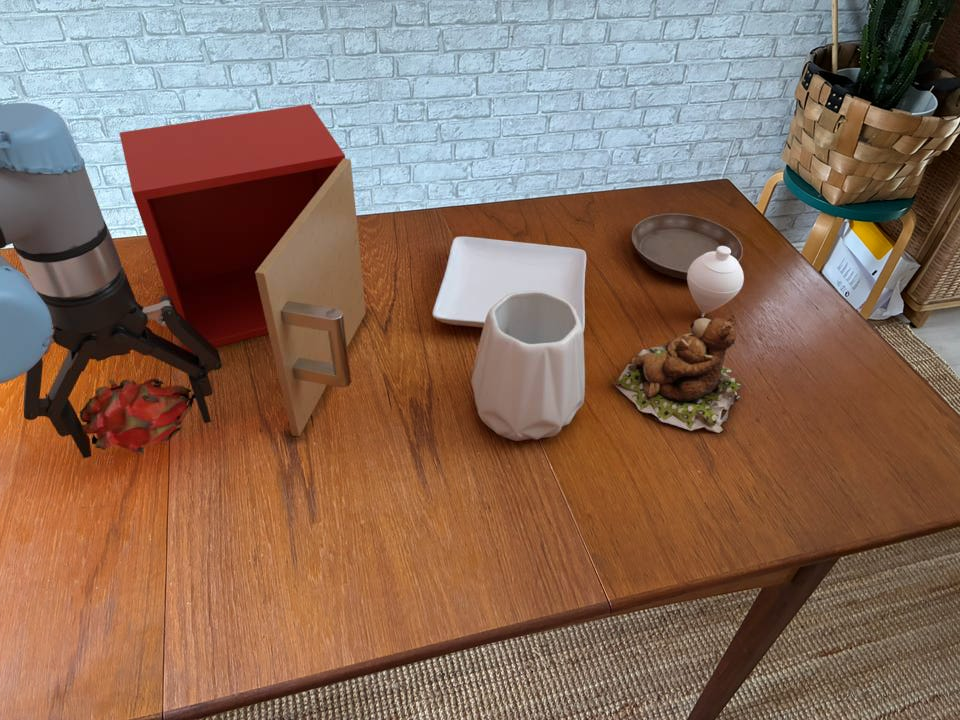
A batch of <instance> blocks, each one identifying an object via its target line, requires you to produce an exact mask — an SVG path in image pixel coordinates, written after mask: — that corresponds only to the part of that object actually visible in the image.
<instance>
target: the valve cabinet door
mask: <svg viewBox="0 0 960 720" xmlns="http://www.w3.org/2000/svg"><path fill="white" fill-rule="evenodd" d="M357 218H358V217H357V209H356V199H355V188H354V179H353V168H352V159H351V158H345V159H342V161H341V162H340V163H339V165H338V166H337V167H336V168H335V170H334V171H333V172H332V174H331V175H330V176H329V178H328V179H327V180H326V181H325V183H324V184H323V185H322V187H321V188H320V189H319V190H318V192H317V193H316V194H315V196H314V197H313V198H312V199H311V201H310V202H309V203H308V205H307V206H306V207H305V208H304V210H303V211H302V212H301V214H300V215H299V216H298V218H297V219H296V220H295V221H294V223H293V224H292V225H291V227H290V228H289V229H288V230H287V232H286V233H285V234H284V236H283V237H282V238H281V239H280V241H279V242H278V243H277V245H276V246H275V247H274V248H273V250H272V251H271V252H270V254H269V255H268V256H267V257H266V259H265V260H264V261H263V263H262V264H261V265H260V267H259V268H258V269H257V270H256V272H255V275H256V279H257V283H258V288H259V292H260V297H261V301H262V306H263V310H264V314H265V319H266V323H267V328H268V332H269V334H268V336H269V342H270V346H271V351H272V355H273V358H274V362H275V366H276V372H277V376H278V380H279V384H280V389H281V394H282V397H283V403H284V407H285V411H286V417H287V420H288V425H289V429H290V434H291V436H292V437H293V436H294V437H297V438H299V437H301V435H302V433H303V431H304V429H305V427H306V426H307V423H308V421H309V419H310V418H311V416H312V414H313V412H314V410H315V408H316V406H317V405H318V403H319V401H320V399H321V398H322V395H323V393H324V391H325V390H326V388H327V386H332V387H337V388H347V387H349V386H350V385H351V383H352V375H351V366H350V358H349V351H348V347H349V345H350V343H351V341H352V340H353V338H354V336H355V334H356V332H357V331H358V329H359V327H360V325H361V323H362V321H363V319H364V318H365V315H366V313H367V309H366V299H365V289H364V280H363V270H362V268H363V267H362V262H361V261H362V259H361V258H362V257H361V249H360V239H359V230H358V229H359V228H358V219H357Z"/></svg>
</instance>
